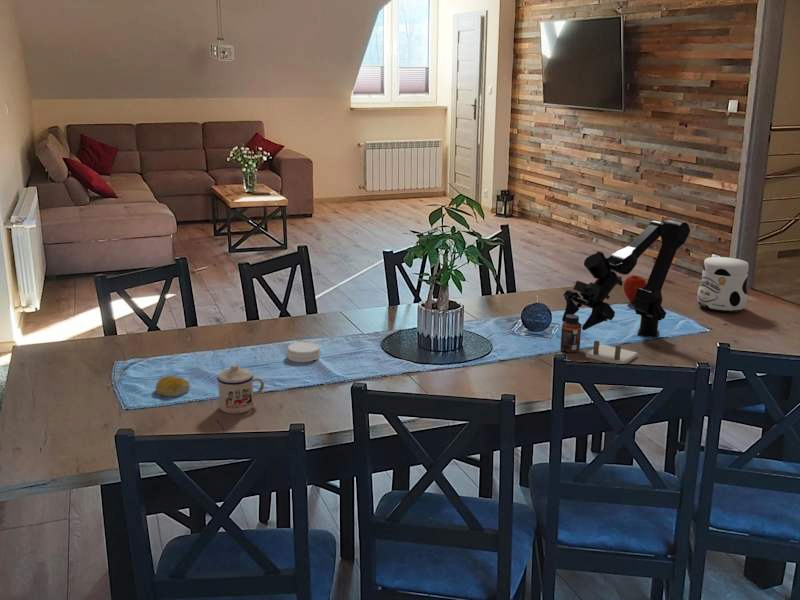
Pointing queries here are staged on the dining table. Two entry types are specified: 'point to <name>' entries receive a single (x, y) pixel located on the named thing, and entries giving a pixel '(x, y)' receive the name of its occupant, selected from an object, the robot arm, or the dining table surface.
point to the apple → (633, 286)
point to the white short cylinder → (303, 352)
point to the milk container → (723, 284)
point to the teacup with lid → (237, 390)
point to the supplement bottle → (571, 334)
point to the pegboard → (610, 353)
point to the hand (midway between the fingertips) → (572, 325)
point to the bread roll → (172, 386)
